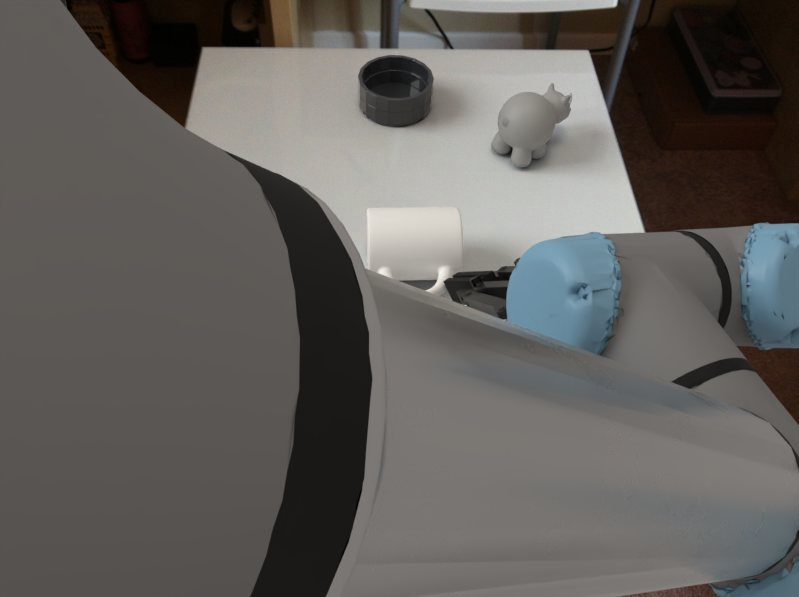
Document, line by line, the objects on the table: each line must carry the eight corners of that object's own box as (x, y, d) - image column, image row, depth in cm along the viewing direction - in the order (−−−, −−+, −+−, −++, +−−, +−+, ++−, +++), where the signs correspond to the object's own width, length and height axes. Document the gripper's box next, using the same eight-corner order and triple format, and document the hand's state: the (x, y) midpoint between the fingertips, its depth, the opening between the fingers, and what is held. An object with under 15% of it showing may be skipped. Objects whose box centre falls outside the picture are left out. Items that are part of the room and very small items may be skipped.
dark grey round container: (399, 138, 98) (400, 110, 94) (343, 105, 102) (342, 77, 98) (445, 103, 103) (448, 76, 99) (390, 73, 107) (391, 46, 103)
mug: (366, 242, 86) (366, 192, 80) (451, 240, 87) (457, 191, 81) (369, 325, 79) (369, 277, 73) (462, 323, 79) (470, 276, 73)
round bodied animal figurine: (584, 142, 99) (600, 89, 92) (518, 178, 94) (530, 124, 87) (546, 114, 102) (559, 60, 95) (481, 147, 97) (489, 93, 91)
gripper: (577, 376, 54) (421, 352, 75) (692, 287, 60) (516, 288, 80) (538, 286, 52) (389, 288, 73) (659, 203, 58) (488, 226, 79)
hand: (455, 288), depth 77 cm, fingers closed
